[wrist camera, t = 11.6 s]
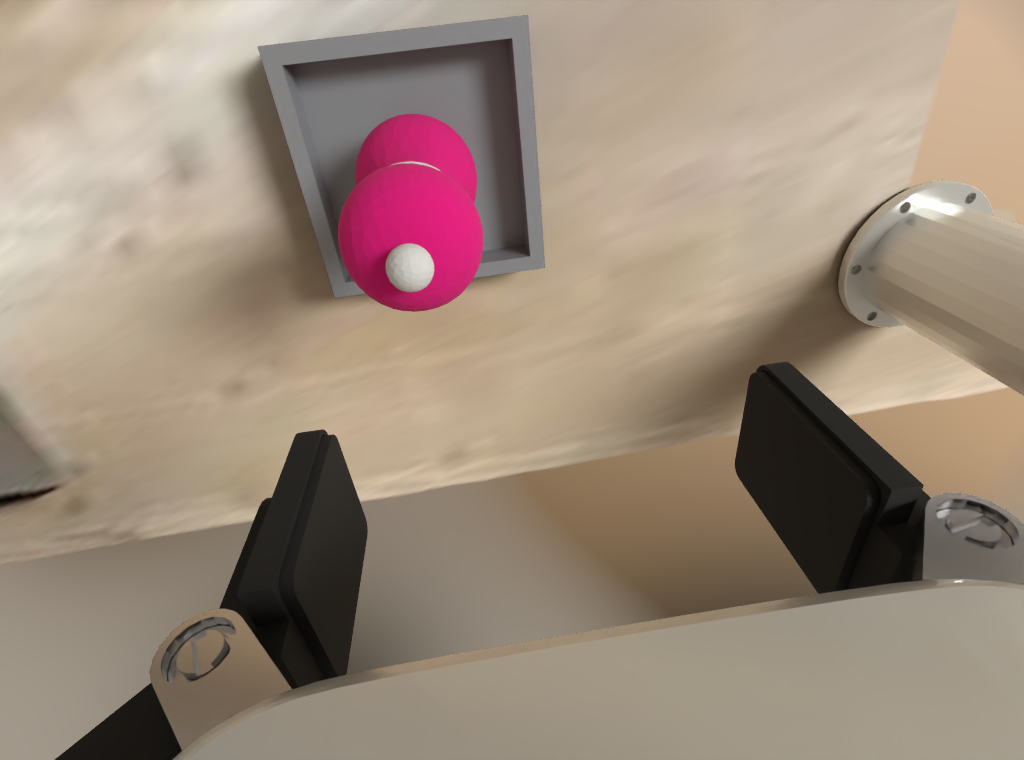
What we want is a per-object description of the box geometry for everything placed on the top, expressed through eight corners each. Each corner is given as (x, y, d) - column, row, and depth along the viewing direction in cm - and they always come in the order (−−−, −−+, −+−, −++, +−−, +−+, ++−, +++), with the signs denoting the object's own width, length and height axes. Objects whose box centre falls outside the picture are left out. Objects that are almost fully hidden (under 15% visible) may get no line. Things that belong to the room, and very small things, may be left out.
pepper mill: (482, 208, 38) (524, 342, 21) (382, 230, 37) (344, 381, 21) (459, 95, 34) (489, 148, 17) (347, 119, 33) (266, 195, 17)
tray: (519, 17, 33) (528, 14, 30) (536, 251, 41) (545, 267, 38) (273, 46, 32) (257, 46, 29) (341, 279, 40) (334, 298, 37)
